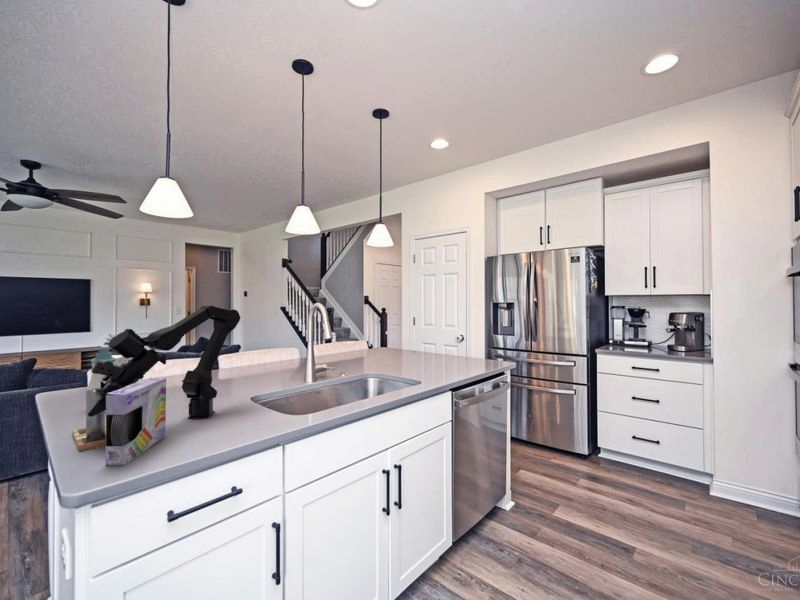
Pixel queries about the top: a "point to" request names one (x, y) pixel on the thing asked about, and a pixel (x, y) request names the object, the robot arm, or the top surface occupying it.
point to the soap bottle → (102, 356)
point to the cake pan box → (134, 419)
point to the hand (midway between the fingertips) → (88, 412)
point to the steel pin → (94, 417)
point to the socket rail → (81, 438)
